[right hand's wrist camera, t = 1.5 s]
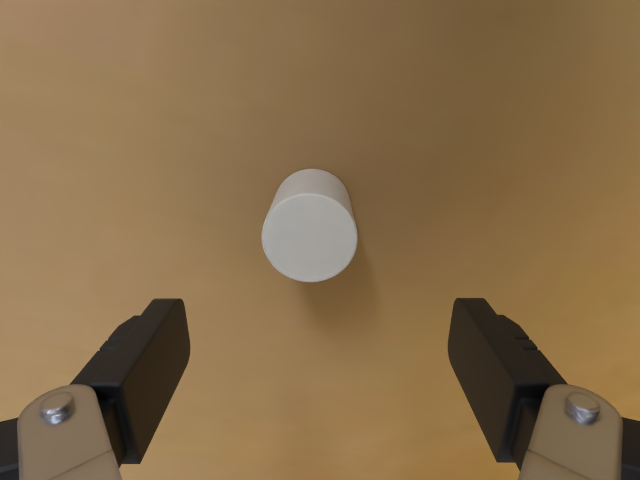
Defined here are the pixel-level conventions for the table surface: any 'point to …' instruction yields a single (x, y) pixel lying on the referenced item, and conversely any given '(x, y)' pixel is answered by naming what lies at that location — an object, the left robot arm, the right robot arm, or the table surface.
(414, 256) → the table surface
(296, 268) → the can
